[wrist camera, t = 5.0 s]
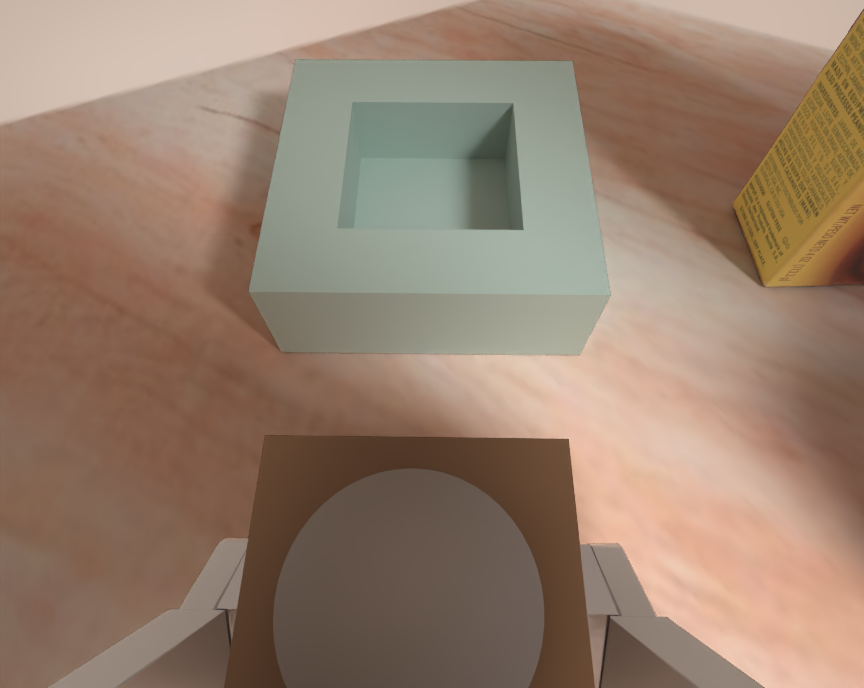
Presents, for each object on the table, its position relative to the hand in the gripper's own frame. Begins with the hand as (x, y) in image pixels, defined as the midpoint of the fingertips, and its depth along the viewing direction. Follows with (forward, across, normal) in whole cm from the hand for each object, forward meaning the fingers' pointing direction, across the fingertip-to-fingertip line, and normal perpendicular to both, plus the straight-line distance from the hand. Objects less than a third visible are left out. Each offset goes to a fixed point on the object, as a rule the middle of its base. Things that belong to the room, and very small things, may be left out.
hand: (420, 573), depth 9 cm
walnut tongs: (+4, 0, +5) cm, 6 cm away
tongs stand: (+13, 0, -4) cm, 14 cm away
